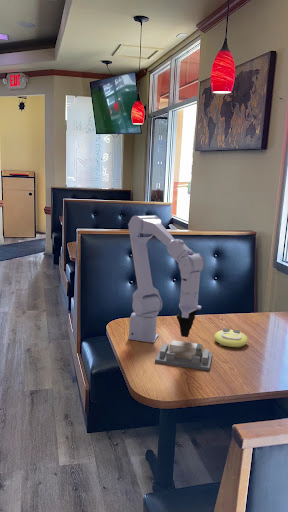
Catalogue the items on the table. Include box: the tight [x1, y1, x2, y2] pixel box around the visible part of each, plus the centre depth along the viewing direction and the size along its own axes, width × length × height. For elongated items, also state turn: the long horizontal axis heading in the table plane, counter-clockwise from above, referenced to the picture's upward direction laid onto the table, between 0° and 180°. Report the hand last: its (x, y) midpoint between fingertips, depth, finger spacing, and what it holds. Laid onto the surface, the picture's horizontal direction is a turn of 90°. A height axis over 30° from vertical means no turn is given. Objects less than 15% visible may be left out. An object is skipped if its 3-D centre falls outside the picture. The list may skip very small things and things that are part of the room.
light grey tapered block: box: [169, 339, 203, 360], centre depth 136 cm, size 10×4×4 cm, turn 76°
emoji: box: [213, 328, 249, 349], centre depth 152 cm, size 4×12×12 cm
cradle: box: [154, 342, 213, 372], centre depth 136 cm, size 17×12×3 cm
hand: (186, 332), depth 136 cm, fingers open, 7 cm apart
